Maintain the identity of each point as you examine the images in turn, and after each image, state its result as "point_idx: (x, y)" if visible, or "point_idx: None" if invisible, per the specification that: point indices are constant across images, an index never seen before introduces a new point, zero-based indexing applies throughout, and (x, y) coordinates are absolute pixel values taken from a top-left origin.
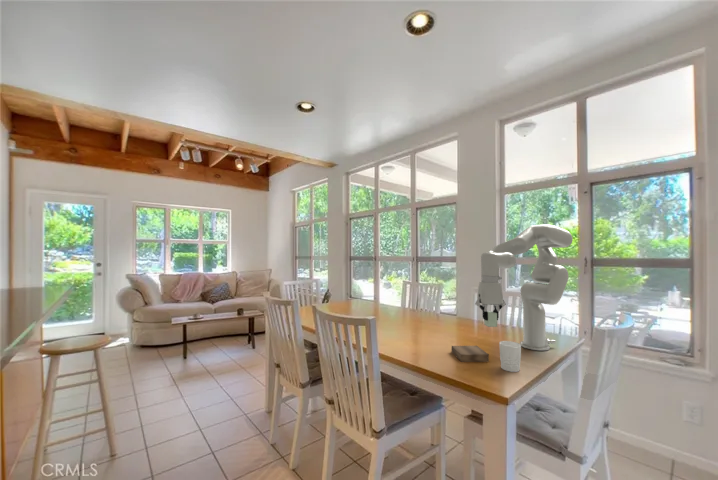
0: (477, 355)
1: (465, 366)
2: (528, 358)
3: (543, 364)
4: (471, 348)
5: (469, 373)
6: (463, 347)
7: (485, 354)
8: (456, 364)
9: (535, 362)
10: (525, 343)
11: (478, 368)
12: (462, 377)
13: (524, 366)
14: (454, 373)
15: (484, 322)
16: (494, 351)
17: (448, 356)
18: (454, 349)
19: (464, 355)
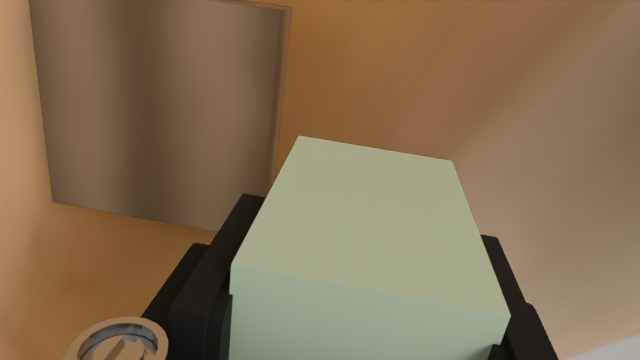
0: (176, 221)
1: (87, 248)
2: (615, 220)
3: (605, 325)
4: (187, 86)
5: (79, 325)
6: (125, 44)
7: None
8: (42, 211)
9: (587, 289)
10: None
11: (152, 286)
12: (32, 351)
13: None
14: (3, 309)
15: (291, 153)
16: (470, 16)
17: (20, 66)
18: (41, 57)
19: (80, 204)
